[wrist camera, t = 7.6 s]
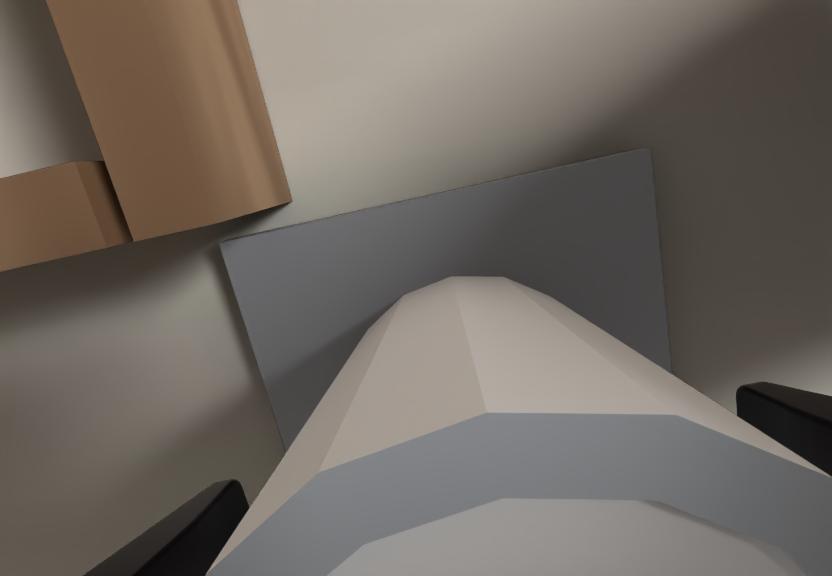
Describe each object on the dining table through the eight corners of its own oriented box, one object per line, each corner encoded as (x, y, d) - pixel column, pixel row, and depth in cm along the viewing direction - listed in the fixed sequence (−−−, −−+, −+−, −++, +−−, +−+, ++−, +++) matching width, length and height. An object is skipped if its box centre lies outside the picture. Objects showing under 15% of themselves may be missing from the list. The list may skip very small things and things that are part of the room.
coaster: (638, 149, 10) (650, 148, 10) (673, 507, 12) (686, 524, 12) (229, 238, 11) (218, 243, 10) (332, 565, 13) (328, 584, 12)
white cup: (428, 567, 12) (434, 1077, 5) (260, 353, 11) (-18, 679, 4) (679, 435, 11) (1077, 861, 4) (527, 179, 10) (762, 221, 3)
